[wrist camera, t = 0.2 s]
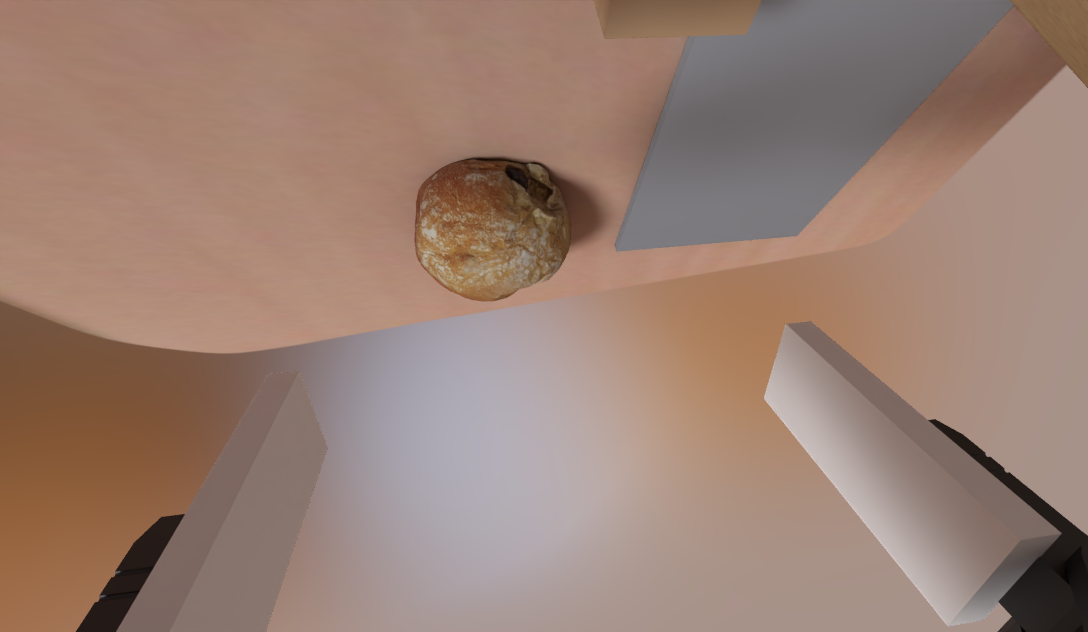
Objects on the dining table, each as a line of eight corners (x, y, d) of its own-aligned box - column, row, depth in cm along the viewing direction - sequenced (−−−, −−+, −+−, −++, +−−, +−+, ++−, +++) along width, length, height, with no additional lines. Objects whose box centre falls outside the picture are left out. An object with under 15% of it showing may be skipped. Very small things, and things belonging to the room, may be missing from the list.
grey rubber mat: (717, -47, 18) (722, -38, 18) (1049, -50, 20) (1058, -42, 20) (614, 244, 36) (616, 251, 36) (794, 229, 38) (797, 235, 38)
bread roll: (569, 152, 32) (620, 205, 26) (523, 276, 37) (556, 343, 32) (422, 113, 27) (444, 167, 22) (394, 261, 33) (406, 335, 27)
